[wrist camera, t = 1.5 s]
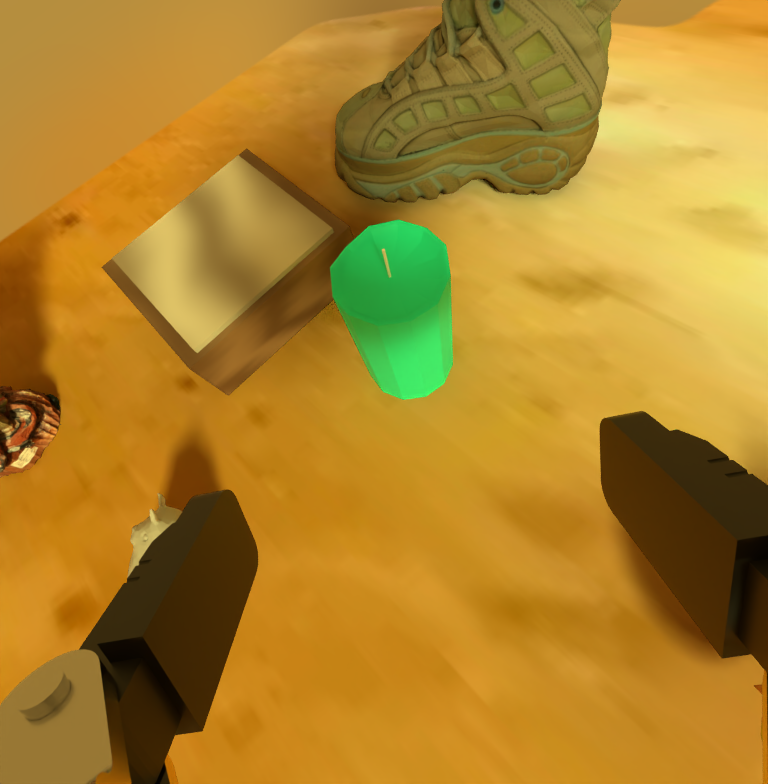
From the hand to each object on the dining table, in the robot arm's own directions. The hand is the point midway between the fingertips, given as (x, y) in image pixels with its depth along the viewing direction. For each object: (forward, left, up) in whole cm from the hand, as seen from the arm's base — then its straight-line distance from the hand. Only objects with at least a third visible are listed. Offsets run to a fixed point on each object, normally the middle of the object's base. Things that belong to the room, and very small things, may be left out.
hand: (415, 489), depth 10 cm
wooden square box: (-3, -24, -18) cm, 30 cm away
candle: (-7, -10, -19) cm, 22 cm away
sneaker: (-22, -19, -19) cm, 34 cm away
